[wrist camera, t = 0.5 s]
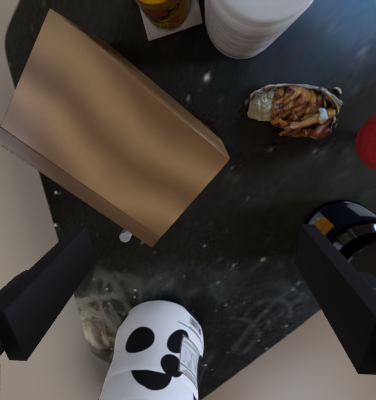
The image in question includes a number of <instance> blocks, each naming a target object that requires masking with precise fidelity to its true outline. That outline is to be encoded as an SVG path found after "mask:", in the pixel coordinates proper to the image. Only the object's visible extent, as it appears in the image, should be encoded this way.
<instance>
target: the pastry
mask: <svg viewBox="0 0 376 400" xmlns="http://www.w3.org/2000/svg"><path fill="white" fill-rule="evenodd" d="M340 95H341V89H340V88H338V87H335V88H330V87H329V86H326V85H324V86H323V87H321V86H311V85H307V84H288V83H285V84H277V85H269V84H268V85H265V86H263V87H261V88H260V89H259V90H256V91H254V92H253V93H252V94H250V103H249V109H248V116H249V118H253V119H256V120H258V121H270V122H271V124H272V125H273V126H275V127H278V128H282V129H285V130H283V131H281V133H280V134H279V135H280V136H284V135H288V136H291V137H301V136H304V137H312V138H313V139H316V140H318V139H322V138H324V137H326V136H328V135H329V134H331V132H332V125H333V123H334V122H337V121H338V119H337V120H336V118H335V115H337V114H338V113H339V109H340V108H341V103H342V100H339V99H338V98H337V97H339V96H340ZM331 100H332V101H333V102H332V101H331ZM333 103H334V105H333ZM343 104H344V103H343ZM335 120H336V121H335ZM337 125H338V124H336V126H335V128H336V127H337Z"/></svg>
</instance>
